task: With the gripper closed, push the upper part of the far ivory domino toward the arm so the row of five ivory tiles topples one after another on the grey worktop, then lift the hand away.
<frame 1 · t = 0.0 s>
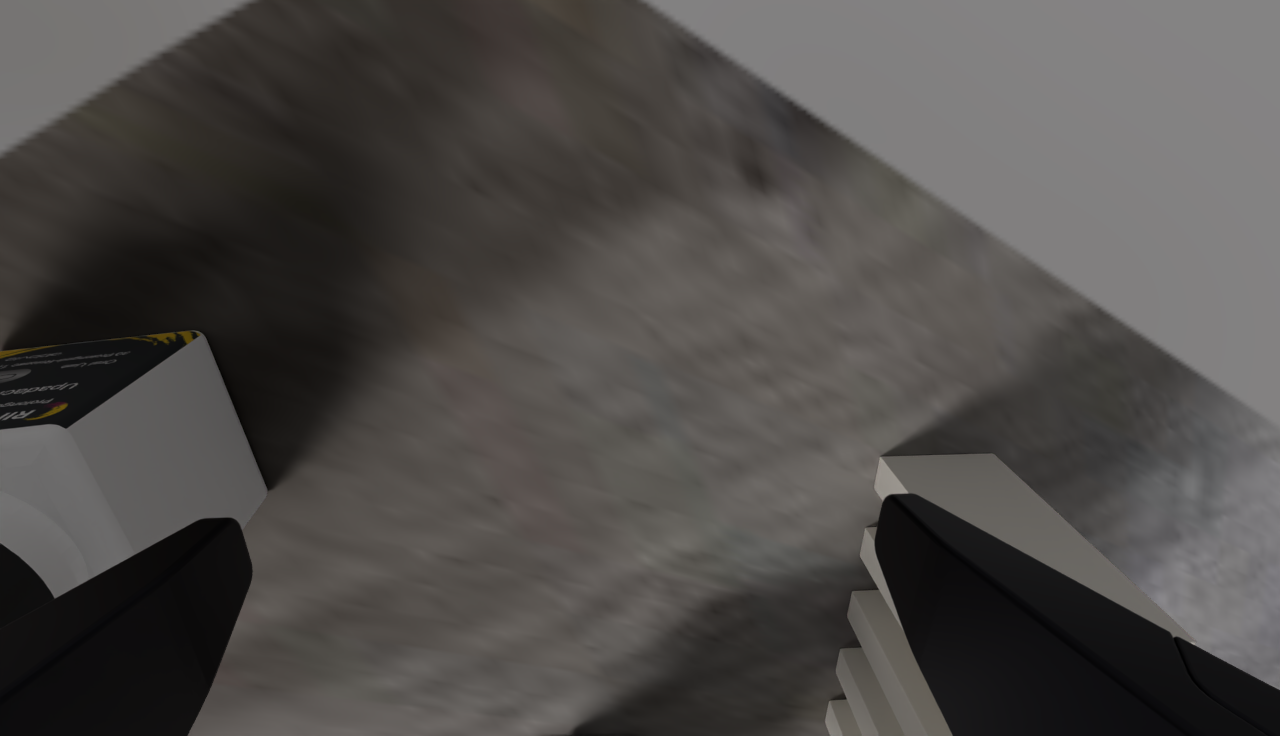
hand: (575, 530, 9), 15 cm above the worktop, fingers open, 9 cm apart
domino 2: (915, 539, 29), on the worktop
medicine bottle: (146, 423, 24), on the worktop
domino 3: (900, 601, 31), on the worktop
domino 4: (886, 657, 32), on the worktop
domino 1: (933, 470, 28), on the worktop
domino 5: (873, 708, 34), on the worktop
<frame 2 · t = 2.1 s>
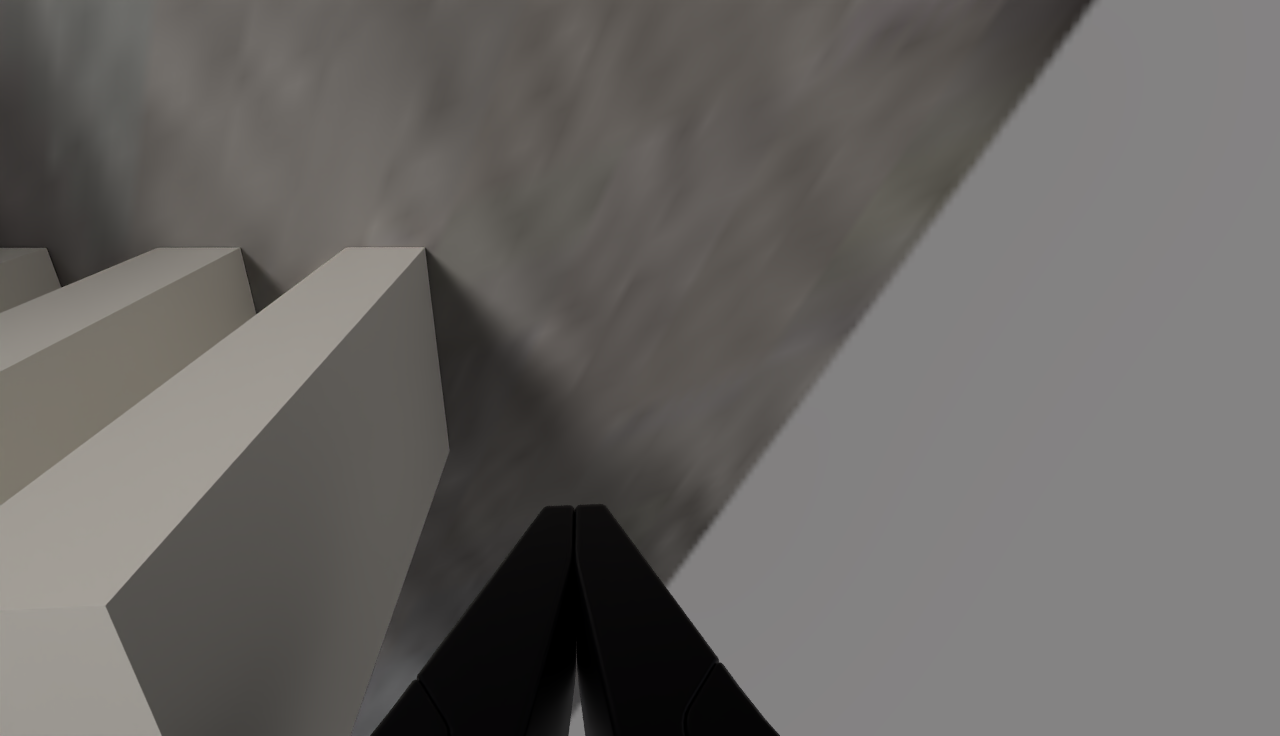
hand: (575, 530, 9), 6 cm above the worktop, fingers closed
domino 2: (229, 359, 14), on the worktop
domino 3: (49, 362, 14), on the worktop
domino 1: (401, 356, 14), on the worktop
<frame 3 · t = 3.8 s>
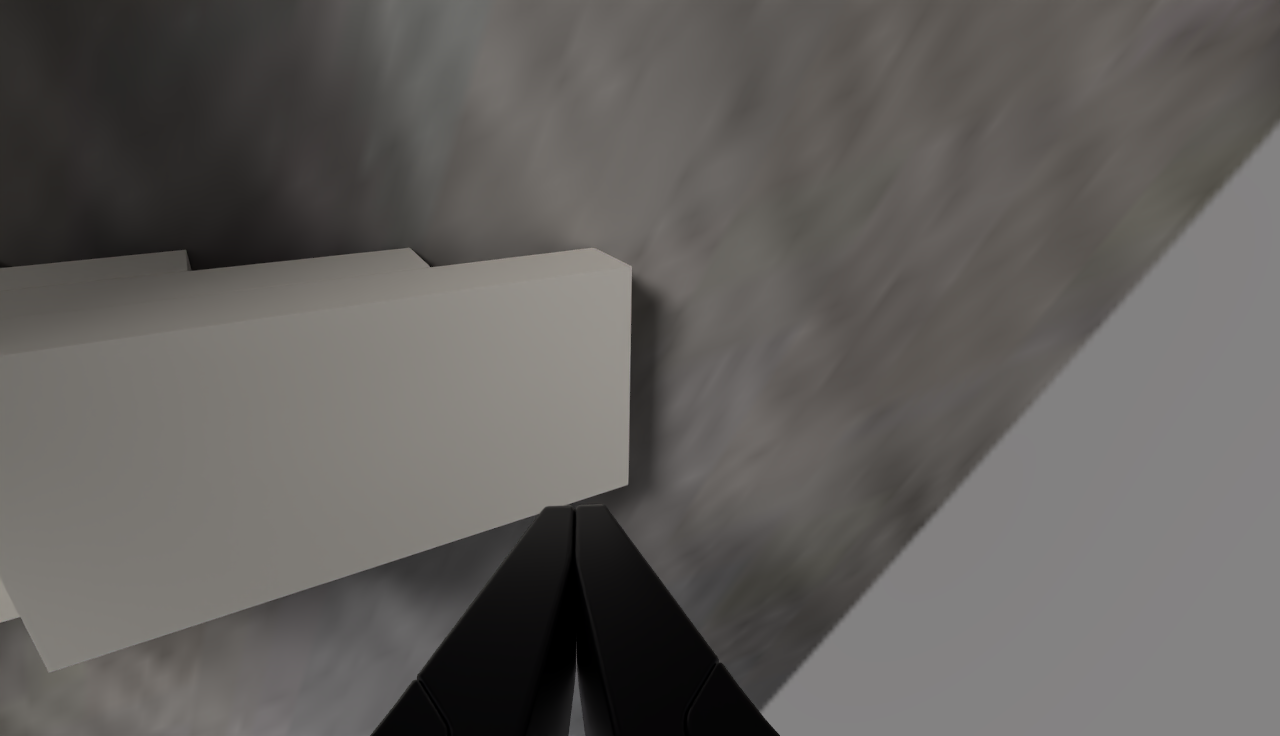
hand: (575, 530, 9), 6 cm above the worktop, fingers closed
domino 2: (434, 372, 14), point 1 cm above the worktop, tilted 64°, touching domino 3
domino 3: (219, 378, 13), point 1 cm above the worktop, tilted 62°, touching domino 2, domino 4
domino 1: (611, 369, 14), point 1 cm above the worktop, tilted 64°
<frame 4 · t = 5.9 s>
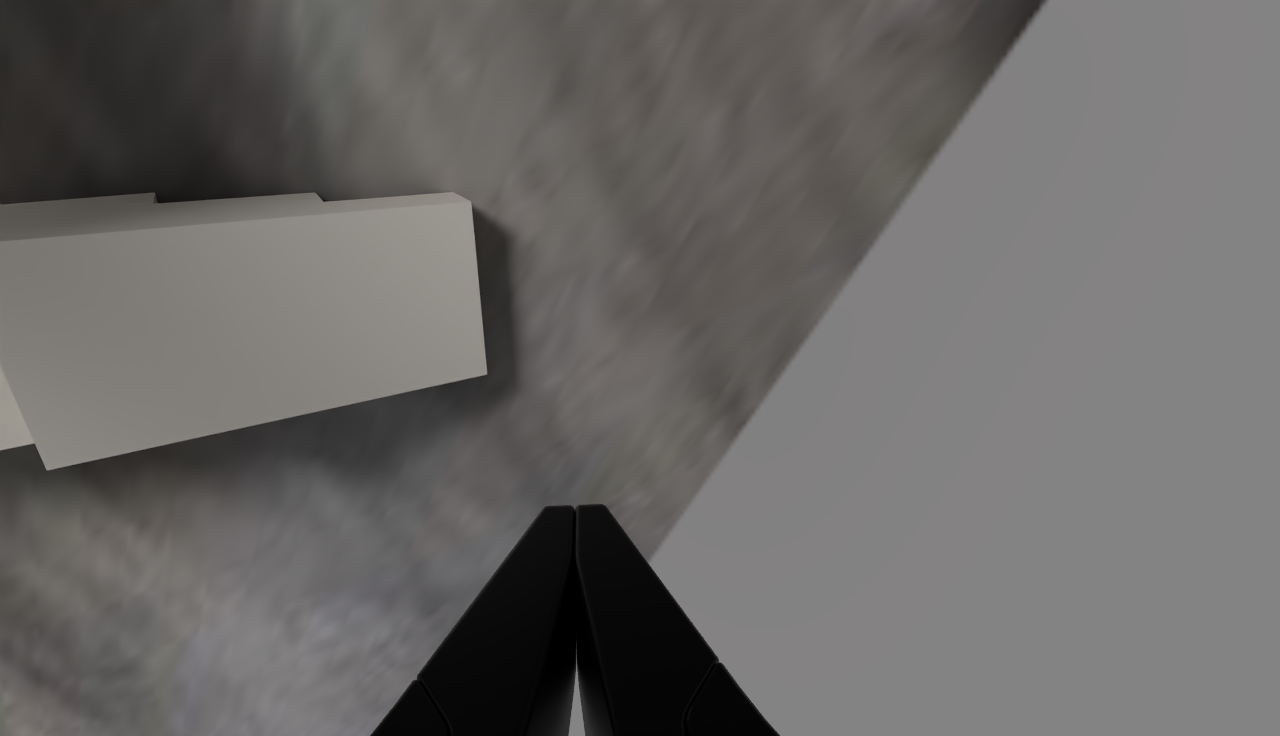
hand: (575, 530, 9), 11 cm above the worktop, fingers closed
domino 2: (336, 287, 18), point 1 cm above the worktop, tilted 63°, touching domino 1, domino 3
domino 3: (182, 289, 18), point 1 cm above the worktop, tilted 62°, touching domino 2, domino 4
domino 1: (470, 285, 18), point 1 cm above the worktop, tilted 64°, touching domino 2
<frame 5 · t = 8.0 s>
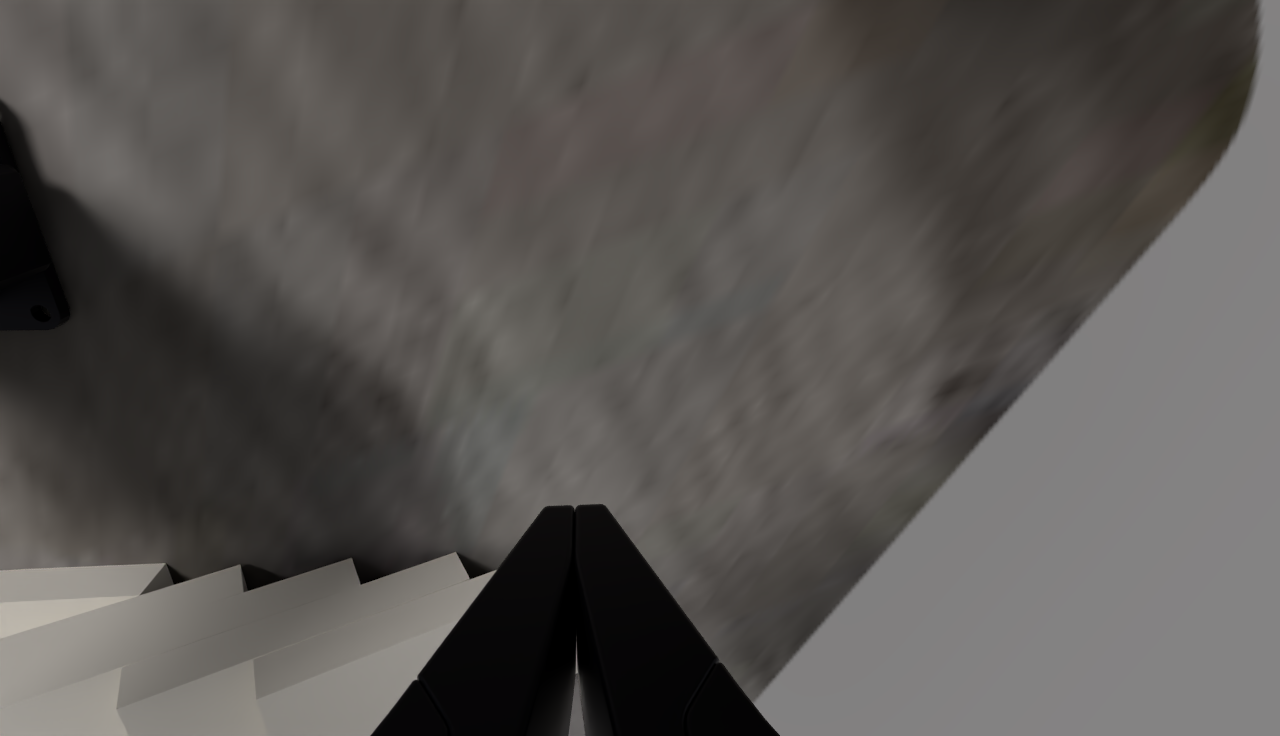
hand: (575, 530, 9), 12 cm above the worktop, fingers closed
domino 2: (468, 616, 24), point 1 cm above the worktop, tilted 63°, touching domino 1, domino 3
domino 3: (366, 623, 24), point 1 cm above the worktop, tilted 63°, touching domino 2, domino 4
domino 4: (257, 630, 24), point 1 cm above the worktop, tilted 62°, touching domino 3, domino 5
domino 1: (567, 611, 25), point 1 cm above the worktop, tilted 64°, touching domino 2
domino 5: (173, 631, 23), point 1 cm above the worktop, tilted 89°, touching domino 4
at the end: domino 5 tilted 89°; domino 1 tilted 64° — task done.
